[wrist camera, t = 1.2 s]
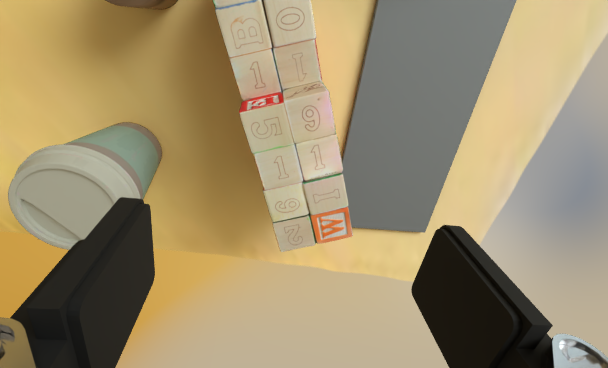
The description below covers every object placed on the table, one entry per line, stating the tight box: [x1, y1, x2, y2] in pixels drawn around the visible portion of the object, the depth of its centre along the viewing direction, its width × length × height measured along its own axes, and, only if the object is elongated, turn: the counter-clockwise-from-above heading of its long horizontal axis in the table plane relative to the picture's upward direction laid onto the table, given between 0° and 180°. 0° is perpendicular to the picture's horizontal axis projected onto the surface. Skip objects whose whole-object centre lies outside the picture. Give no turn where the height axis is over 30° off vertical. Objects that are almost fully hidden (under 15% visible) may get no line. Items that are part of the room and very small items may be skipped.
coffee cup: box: [8, 122, 162, 250], centre depth 28 cm, size 8×8×12 cm
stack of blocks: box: [213, 0, 353, 252], centre depth 26 cm, size 21×6×12 cm, turn 11°
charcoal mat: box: [342, 0, 516, 232], centre depth 34 cm, size 27×13×1 cm, turn 172°
